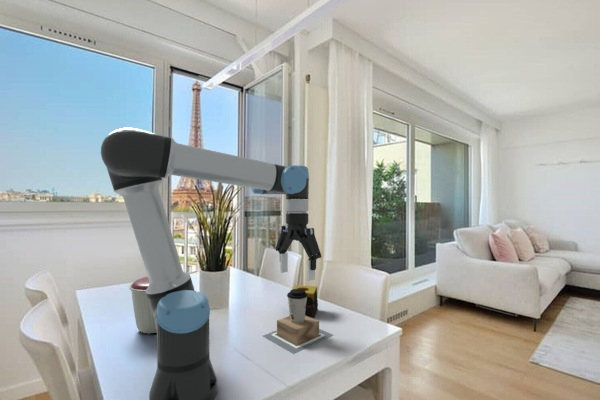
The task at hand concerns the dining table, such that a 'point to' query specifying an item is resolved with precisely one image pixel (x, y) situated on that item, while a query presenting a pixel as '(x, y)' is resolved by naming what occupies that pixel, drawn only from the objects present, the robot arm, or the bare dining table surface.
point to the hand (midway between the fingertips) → (296, 275)
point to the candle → (310, 299)
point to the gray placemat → (293, 347)
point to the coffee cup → (297, 305)
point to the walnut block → (298, 330)
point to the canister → (142, 306)
